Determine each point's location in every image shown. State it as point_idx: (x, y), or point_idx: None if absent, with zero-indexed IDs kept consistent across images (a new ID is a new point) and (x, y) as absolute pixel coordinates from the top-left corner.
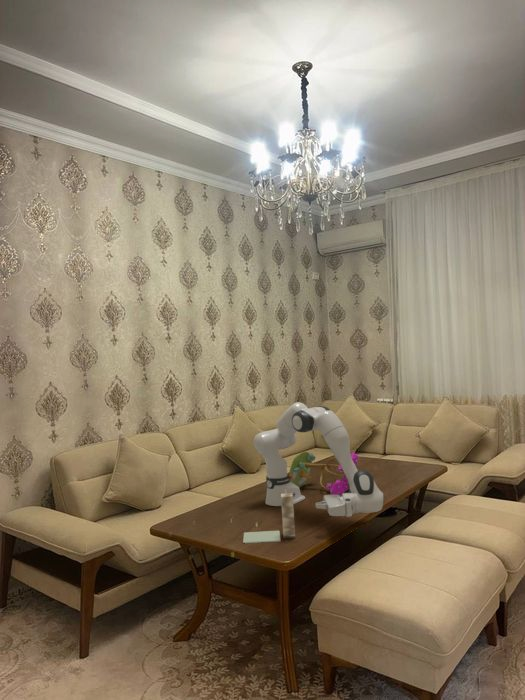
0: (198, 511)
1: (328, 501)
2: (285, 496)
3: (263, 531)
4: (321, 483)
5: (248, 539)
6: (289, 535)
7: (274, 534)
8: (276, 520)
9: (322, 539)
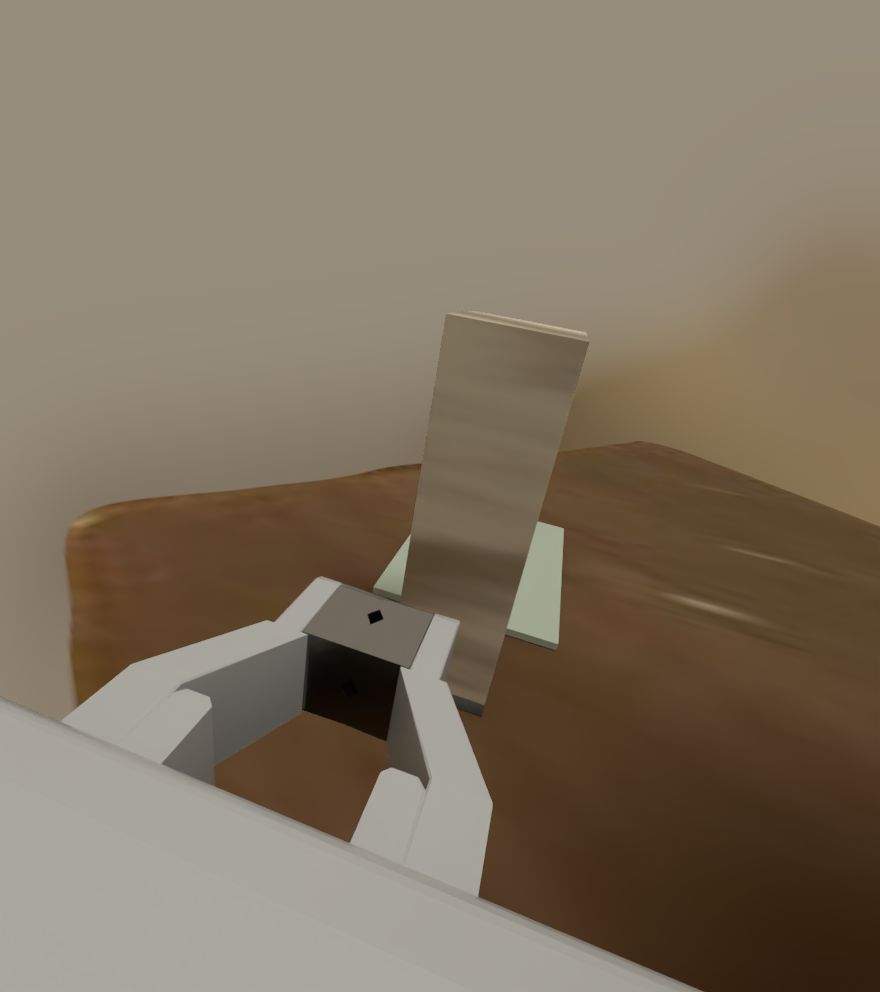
0: (856, 523)
1: (40, 822)
2: (474, 313)
3: (559, 580)
4: None
5: None
6: None
7: None
8: (825, 725)
9: None
